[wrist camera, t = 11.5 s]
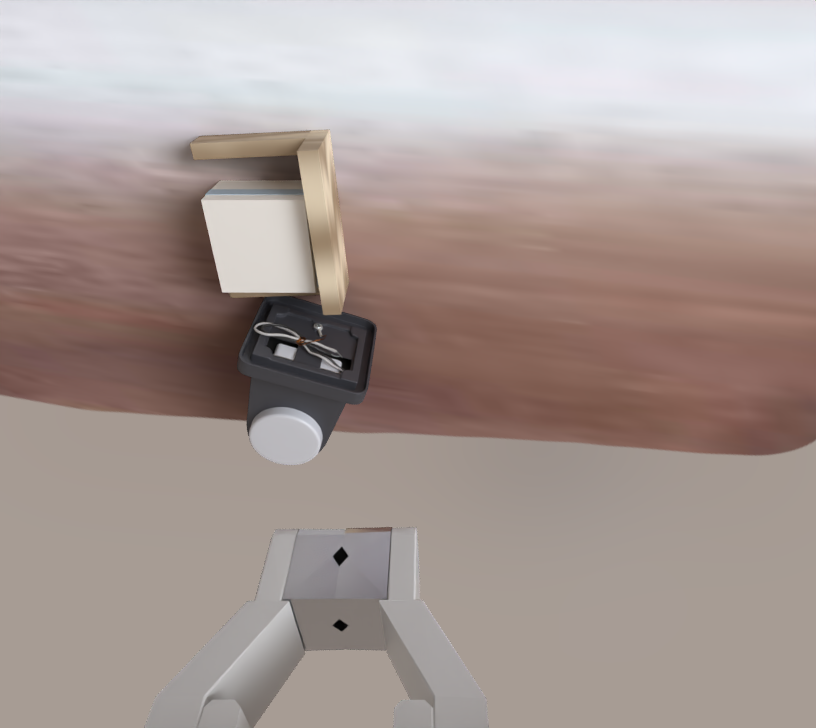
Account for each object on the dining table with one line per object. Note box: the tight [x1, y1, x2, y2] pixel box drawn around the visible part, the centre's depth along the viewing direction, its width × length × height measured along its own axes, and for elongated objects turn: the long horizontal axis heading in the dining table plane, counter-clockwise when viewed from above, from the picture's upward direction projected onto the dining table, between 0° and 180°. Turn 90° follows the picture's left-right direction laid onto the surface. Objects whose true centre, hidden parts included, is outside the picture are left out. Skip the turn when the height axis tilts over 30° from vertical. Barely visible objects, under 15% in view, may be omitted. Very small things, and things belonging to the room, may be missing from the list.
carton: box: [201, 180, 319, 293], centre depth 47 cm, size 8×8×5 cm
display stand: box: [190, 130, 349, 315], centre depth 46 cm, size 13×10×6 cm
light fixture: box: [237, 296, 377, 465], centre depth 53 cm, size 11×13×11 cm
